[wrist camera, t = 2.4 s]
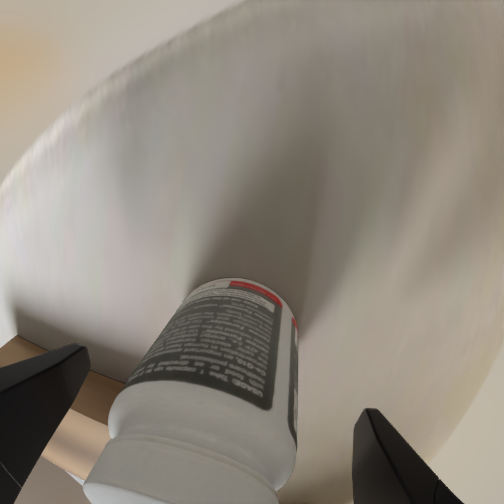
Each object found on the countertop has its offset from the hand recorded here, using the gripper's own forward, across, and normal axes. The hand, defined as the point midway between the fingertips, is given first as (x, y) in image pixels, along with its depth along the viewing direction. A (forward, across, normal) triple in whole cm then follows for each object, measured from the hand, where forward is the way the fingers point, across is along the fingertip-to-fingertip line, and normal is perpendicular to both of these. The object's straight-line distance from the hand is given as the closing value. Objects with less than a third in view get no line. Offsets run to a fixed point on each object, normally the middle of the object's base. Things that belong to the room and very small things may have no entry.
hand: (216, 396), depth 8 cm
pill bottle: (+4, 0, 0) cm, 4 cm away
